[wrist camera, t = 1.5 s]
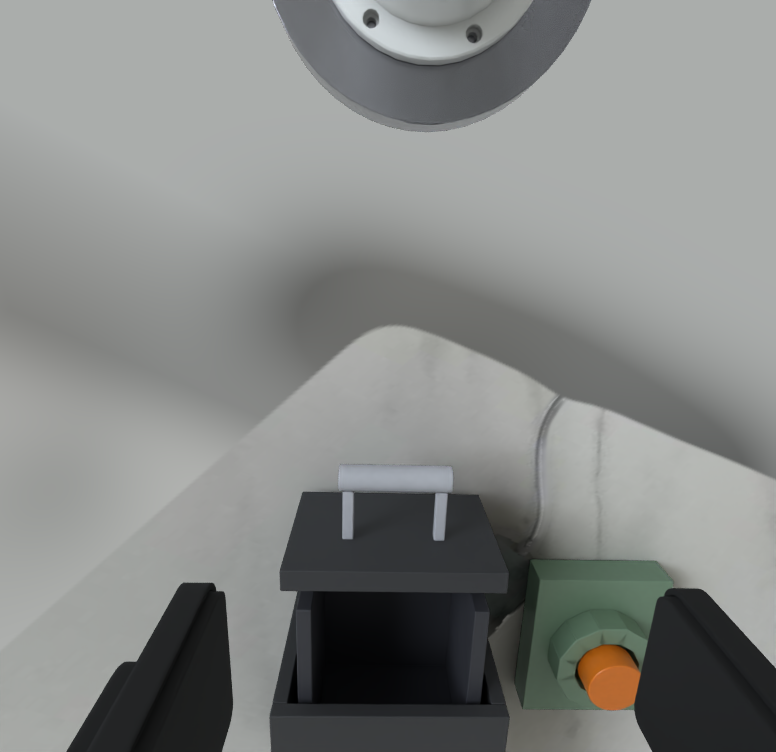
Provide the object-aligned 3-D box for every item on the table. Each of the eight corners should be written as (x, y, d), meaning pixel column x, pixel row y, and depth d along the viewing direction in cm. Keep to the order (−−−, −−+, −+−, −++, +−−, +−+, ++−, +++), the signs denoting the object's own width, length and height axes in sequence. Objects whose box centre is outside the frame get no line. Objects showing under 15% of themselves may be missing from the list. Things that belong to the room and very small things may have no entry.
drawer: (301, 429, 31) (276, 492, 23) (484, 432, 31) (518, 496, 23) (305, 659, 35) (286, 774, 28) (463, 661, 36) (486, 774, 28)
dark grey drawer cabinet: (297, 589, 35) (269, 716, 26) (475, 591, 35) (510, 717, 26) (301, 745, 39) (277, 904, 30) (460, 745, 39) (486, 903, 30)
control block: (530, 558, 35) (549, 599, 31) (656, 560, 35) (690, 601, 31) (514, 683, 38) (529, 734, 34) (630, 683, 38) (659, 734, 34)
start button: (581, 643, 32) (592, 665, 30) (635, 643, 32) (649, 666, 31) (574, 686, 33) (584, 710, 31) (626, 687, 33) (640, 711, 32)
